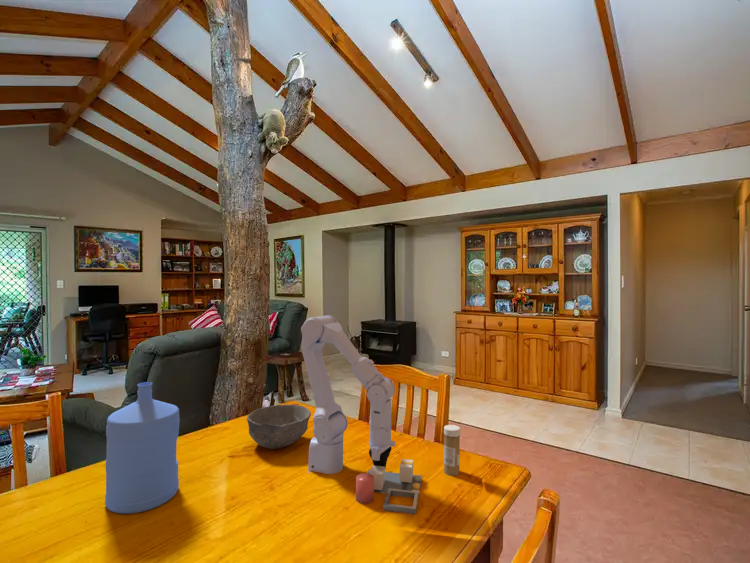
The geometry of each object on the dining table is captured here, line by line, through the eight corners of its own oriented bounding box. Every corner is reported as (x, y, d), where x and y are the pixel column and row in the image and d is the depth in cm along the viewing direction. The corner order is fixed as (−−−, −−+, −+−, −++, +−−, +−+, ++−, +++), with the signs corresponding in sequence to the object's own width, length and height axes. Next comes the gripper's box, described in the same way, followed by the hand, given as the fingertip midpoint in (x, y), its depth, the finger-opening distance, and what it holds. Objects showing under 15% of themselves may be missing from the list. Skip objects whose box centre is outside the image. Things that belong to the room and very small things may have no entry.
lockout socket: (383, 513, 92) (383, 505, 92) (388, 496, 99) (388, 488, 99) (415, 517, 90) (415, 509, 90) (418, 499, 98) (418, 491, 98)
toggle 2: (399, 481, 104) (399, 465, 104) (401, 473, 108) (401, 458, 108) (411, 482, 103) (411, 466, 103) (413, 474, 108) (413, 459, 108)
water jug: (147, 519, 88) (149, 395, 88) (87, 511, 91) (89, 390, 91) (191, 484, 103) (193, 378, 103) (139, 477, 106) (141, 374, 106)
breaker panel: (359, 493, 100) (360, 486, 100) (368, 472, 111) (368, 466, 111) (418, 500, 97) (419, 493, 97) (422, 478, 108) (422, 472, 108)
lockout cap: (353, 506, 95) (354, 481, 95) (358, 496, 99) (358, 472, 99) (371, 508, 94) (372, 483, 94) (375, 498, 98) (375, 474, 98)
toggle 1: (369, 488, 100) (369, 473, 100) (372, 480, 104) (373, 465, 104) (381, 490, 99) (382, 474, 99) (384, 481, 104) (385, 466, 104)
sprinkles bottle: (463, 476, 110) (463, 428, 110) (451, 480, 107) (452, 431, 107) (451, 469, 114) (452, 423, 114) (439, 473, 111) (440, 426, 111)
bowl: (282, 427, 144) (282, 400, 144) (323, 441, 132) (323, 411, 132) (232, 445, 127) (233, 415, 127) (274, 464, 115) (275, 430, 115)
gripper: (391, 436, 98) (390, 491, 98) (398, 417, 112) (398, 464, 112) (363, 434, 99) (363, 488, 99) (374, 415, 113) (373, 462, 113)
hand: (379, 475), depth 106 cm, fingers closed
